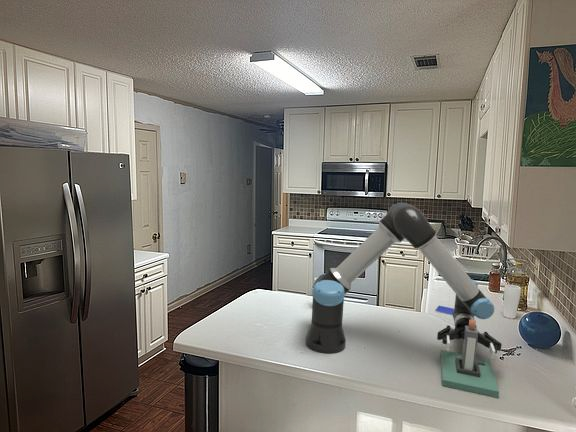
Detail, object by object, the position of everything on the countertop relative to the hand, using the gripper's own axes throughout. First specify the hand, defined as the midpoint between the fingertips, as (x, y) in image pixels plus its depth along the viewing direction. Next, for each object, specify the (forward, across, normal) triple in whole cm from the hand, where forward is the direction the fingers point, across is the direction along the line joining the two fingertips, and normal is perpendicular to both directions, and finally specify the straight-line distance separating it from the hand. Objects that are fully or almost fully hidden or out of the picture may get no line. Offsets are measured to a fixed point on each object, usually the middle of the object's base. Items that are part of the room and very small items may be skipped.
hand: (470, 351), depth 129 cm
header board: (-2, 0, -10) cm, 10 cm away
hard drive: (-63, +3, -10) cm, 64 cm away
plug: (-2, 0, -10) cm, 10 cm away
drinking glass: (-69, -23, -10) cm, 74 cm away
